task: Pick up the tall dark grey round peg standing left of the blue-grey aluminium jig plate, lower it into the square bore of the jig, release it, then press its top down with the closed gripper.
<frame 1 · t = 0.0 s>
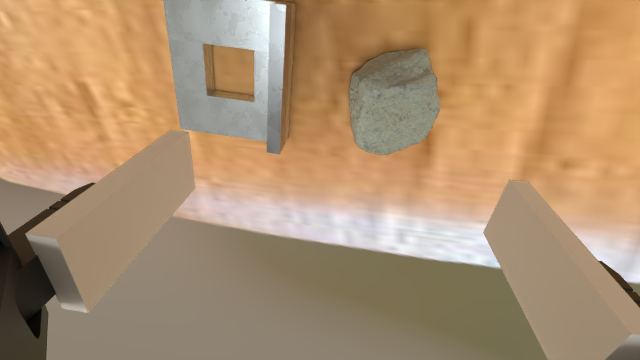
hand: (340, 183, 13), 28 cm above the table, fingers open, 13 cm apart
decorative stone: (386, 97, 39), on the table
jig: (236, 69, 39), on the table
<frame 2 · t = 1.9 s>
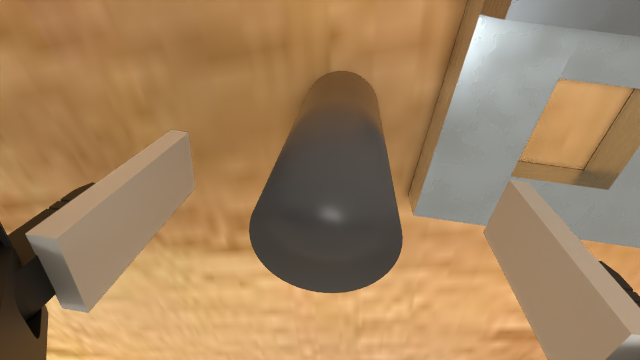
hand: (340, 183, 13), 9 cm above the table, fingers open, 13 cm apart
dark grey round peg: (341, 108, 21), on the table
jig: (561, 122, 20), on the table
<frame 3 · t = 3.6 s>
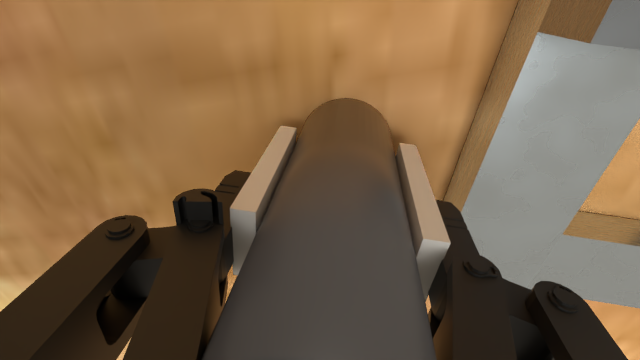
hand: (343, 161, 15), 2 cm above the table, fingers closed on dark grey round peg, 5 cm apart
dark grey round peg: (345, 142, 17), on the table, touching gripper
jig: (626, 165, 16), on the table
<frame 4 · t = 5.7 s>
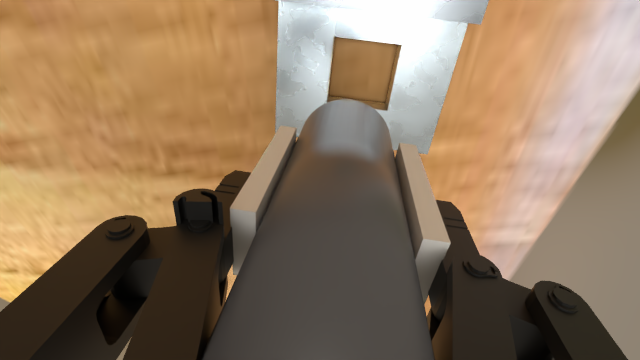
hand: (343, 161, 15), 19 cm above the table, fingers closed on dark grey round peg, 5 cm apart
dark grey round peg: (344, 143, 17), point 17 cm above the table, touching gripper
jig: (361, 69, 31), on the table
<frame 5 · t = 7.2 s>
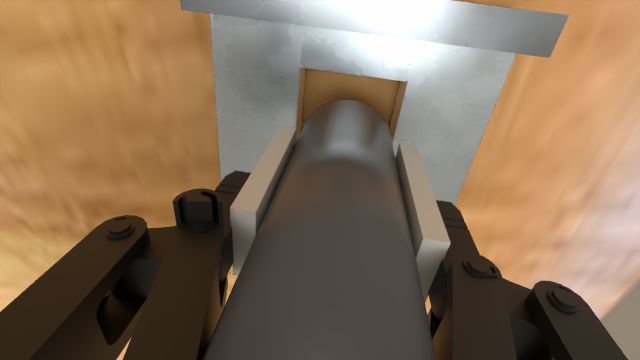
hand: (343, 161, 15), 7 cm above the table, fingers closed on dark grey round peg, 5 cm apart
dark grey round peg: (345, 143, 17), point 5 cm above the table, touching gripper
jig: (347, 111, 21), on the table
when the fingers open (4 cm above the table, at t = 8.2 s): dark grey round peg drops 2 cm, resting in jig.
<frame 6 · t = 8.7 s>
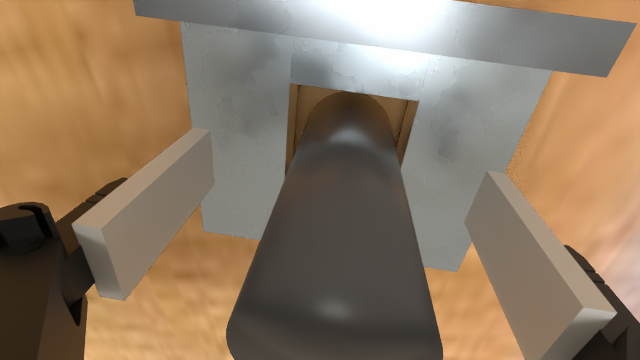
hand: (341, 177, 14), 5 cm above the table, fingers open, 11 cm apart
dark grey round peg: (347, 132, 18), resting in jig
jig: (346, 132, 18), on the table
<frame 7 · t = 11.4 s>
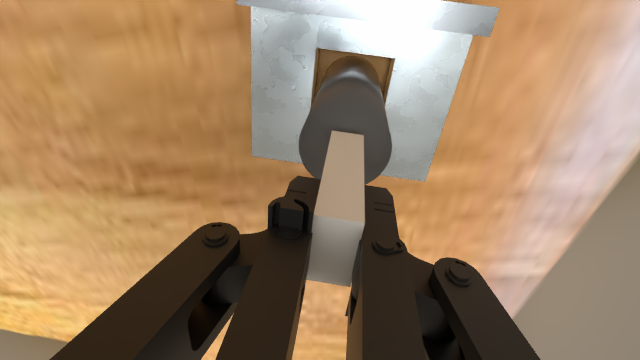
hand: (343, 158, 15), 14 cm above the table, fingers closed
dark grey round peg: (351, 85, 27), resting in jig
jig: (350, 84, 27), on the table
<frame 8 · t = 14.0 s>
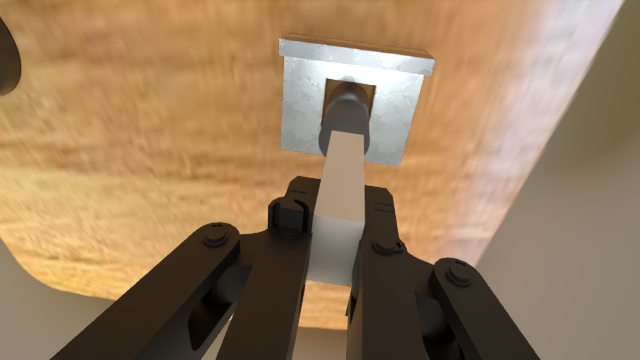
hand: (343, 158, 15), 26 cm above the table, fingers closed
dark grey round peg: (348, 101, 40), resting in jig
jig: (348, 100, 40), on the table
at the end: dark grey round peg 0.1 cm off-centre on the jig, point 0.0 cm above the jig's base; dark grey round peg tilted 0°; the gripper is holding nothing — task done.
